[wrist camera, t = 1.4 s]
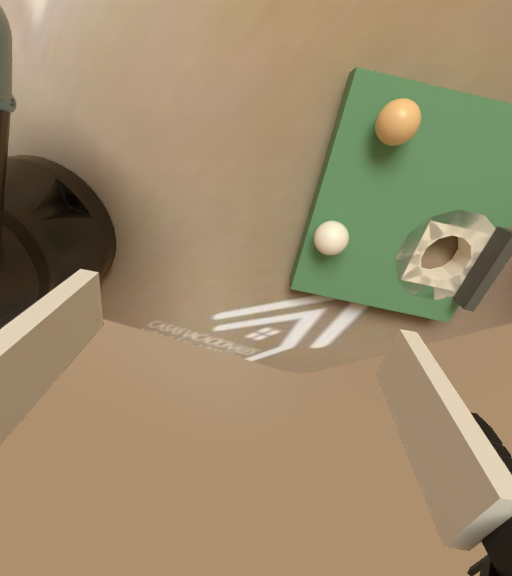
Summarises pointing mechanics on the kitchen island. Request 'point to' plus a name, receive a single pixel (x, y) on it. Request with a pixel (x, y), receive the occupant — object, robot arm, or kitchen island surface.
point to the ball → (331, 238)
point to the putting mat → (412, 200)
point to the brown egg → (398, 122)
